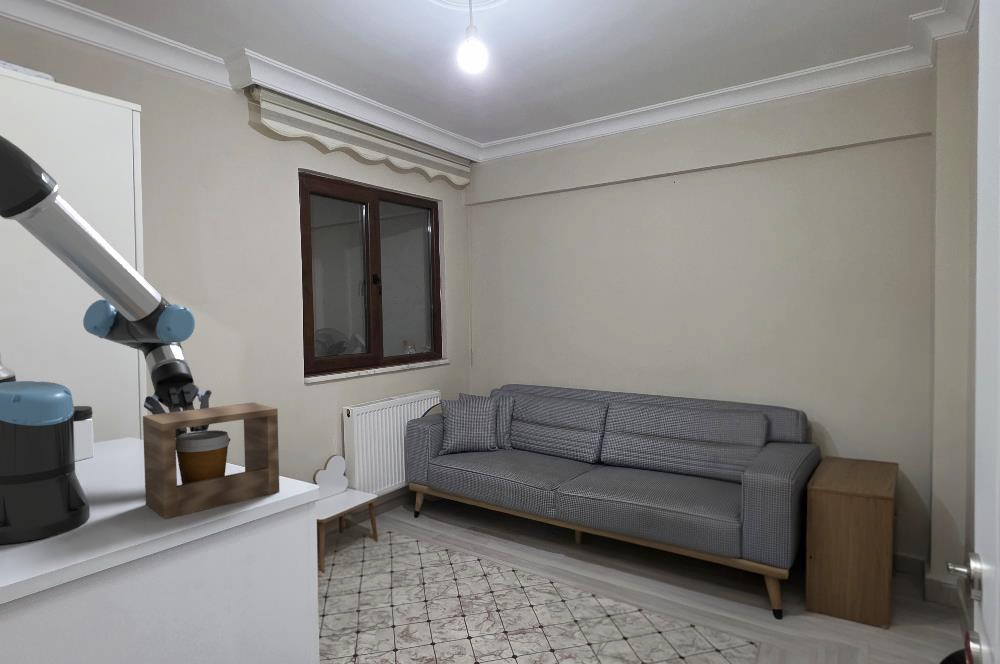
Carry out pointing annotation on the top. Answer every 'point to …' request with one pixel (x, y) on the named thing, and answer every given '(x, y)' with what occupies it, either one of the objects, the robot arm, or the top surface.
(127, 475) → the top surface
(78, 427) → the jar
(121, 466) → the top surface
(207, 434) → the disposable coffee cup
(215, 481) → the walnut shelf
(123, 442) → the top surface
